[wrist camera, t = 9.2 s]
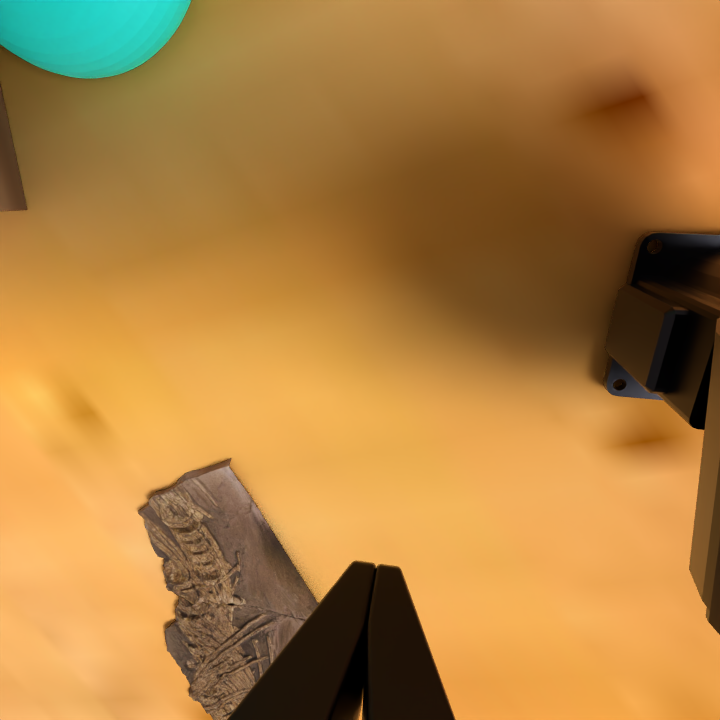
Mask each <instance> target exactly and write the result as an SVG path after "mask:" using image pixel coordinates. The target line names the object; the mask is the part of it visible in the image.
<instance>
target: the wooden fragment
mask: <svg viewBox="0 0 720 720" xmlns="http://www.w3.org/2000/svg"><path fill="white" fill-rule="evenodd" d="M230 461H231V458H230V459H228V460H226V461H224V462H221V463H218V464H215V465H212V466H209V467H206V468H203V469H199V470H193V471H190V472H187V473H185V474H184V475H183V476H182V477H181V478H179V480H178V481H177V483H176V485H174V486H172V487H170V488H168V489H165V490H161V491H156V492H155V494H154V495H153V496H152V497H151V498H150V500H149V503H148V505H147V506H146V507H144V508H142V509H141V510H140V511H138V514H139V515H140V516H142V517H143V518H144V519H145V528H146V529H147V530H148V533H149V537H150V539H151V544H152V547H153V549H154V551H155V553H156V554H157V556H158V557H162V558H164V565H163V566H164V567H165V569H164V571H163V573H164V577H165V579H166V582H167V586H166V588H167V589H168V591H172V592H174V593H175V594H177V595H179V601H178V602H179V603H178V605H177V608H176V609H175V610H176V621H175V622H173V623H172V624H171V625H170V626H169V627H168V628H166V630H165V639H166V644H167V651H168V652H170V654H171V655H172V657H173V658H174V659H175V661H176V663H177V664H178V665H179V666H180V667H181V671H182V673H183V674H184V675H186V676H187V677H186V678H187V680H188V681H189V683H190V686H191V688H190V690H189V697H191V698H192V699H193V701H198V702H200V703H201V705H202V706H203V708H204V709H205V711H206V713H207V714H208V713H210V715H211V716H212V718H213V720H226V719H227V718H228V717H229V716H230V714H231V713H232V712H233V711H234V709H235V708H236V707H237V706H238V704H239V703H240V702H241V701H242V699H243V698H244V697H245V696H246V694H247V693H248V692H249V691H250V689H251V688H252V687H253V686H254V684H255V683H256V682H257V681H258V679H259V678H260V677H261V676H262V674H263V673H264V672H265V671H266V669H267V668H268V667H269V666H270V664H271V663H272V662H273V661H274V659H275V658H276V657H277V656H278V654H279V653H280V652H281V651H282V649H283V648H284V647H285V646H286V644H287V643H288V642H289V641H290V639H291V638H292V637H293V636H294V634H295V633H296V632H297V631H298V629H299V628H300V627H301V626H302V624H303V623H304V622H305V621H306V619H307V618H308V617H309V615H310V614H311V613H312V612H313V610H314V609H315V608H316V607H317V605H318V603H317V601H316V600H315V598H314V597H313V595H312V594H311V593H310V590H309V589H308V588H307V586H306V584H305V582H304V581H303V579H302V577H301V576H300V574H299V573H298V572H297V571H296V568H295V567H294V565H293V564H292V562H291V560H290V559H289V557H288V556H287V554H286V552H285V551H284V549H283V548H282V546H281V544H280V543H279V541H278V540H277V538H276V536H275V534H274V533H273V532H272V530H271V529H270V527H269V525H268V524H267V522H266V520H265V519H264V518H263V516H262V514H261V512H260V510H259V509H258V508H257V507H256V504H255V503H254V501H253V500H252V498H251V497H250V495H249V494H248V493H247V491H246V490H245V489H244V487H243V485H242V484H241V483H240V482H239V481H238V480H237V478H236V476H235V475H234V473H233V472H232V470H231V469H230V467H229V464H230Z"/></svg>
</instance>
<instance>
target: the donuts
mask: <svg viewBox="0 0 720 720" xmlns="http://www.w3.org/2000/svg"><path fill="white" fill-rule="evenodd" d="M190 3H191V0H0V45H2V46H3V47H5V48H6V49H7V50H9V51H10V52H12V53H13V54H15V55H17V56H18V57H20V58H22V59H23V60H25V61H27V62H29V63H31V64H33V65H35V66H37V67H39V68H42V69H44V70H47V71H50V72H53V73H57V74H60V75H64V76H69V77H74V78H84V79H86V78H103V77H110V76H115V75H119V74H122V73H125V72H127V71H130V70H132V69H134V68H136V67H138V66H140V65H141V64H143V63H144V62H146V61H147V60H149V59H150V58H151V57H152V56H154V55H155V54H156V53H157V52H158V51H159V50H160V49H161V48H162V47H163V46H164V45H165V44H166V43H167V42H168V41H169V39H170V38H171V37H172V35H173V34H174V33H175V31H176V30H177V28H178V27H179V25H180V24H181V22H182V20H183V18H184V16H185V14H186V12H187V10H188V8H189V5H190Z"/></svg>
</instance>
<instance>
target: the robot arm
mask: <svg viewBox="0 0 720 720" xmlns="http://www.w3.org/2000/svg"><path fill="white" fill-rule="evenodd" d="M652 240H656V241H657V242H658V246H657V248H656V250H654V251H653V252H648V250H647V246H648V244H649V242H651V241H652ZM605 350H606V351H607V352H608V353H609V359H608V363H607V367H606V371H605V376H604V380H603V384H604V386H605V388H606V389H607V391H608V392H609V393H611V394H612V395H615V396H622V397H634V398H645V399H656V400H664V401H665V402H666V403H667V404H668V405H669V406H670V407H671V408H672V409H673V410H675V411H676V412H677V413H678V414H679V415H680V416H681V417H682V418H683V419H684V420H685V421H686V422H687V423H688V424H689V425H690V426H692V427H693V428H696V429H702V430H705V431H704V440H703V448H702V457H701V466H700V475H699V484H698V493H697V502H696V511H695V520H694V529H693V538H692V547H691V556H690V566H689V570H690V572H691V575H692V577H693V579H694V582H695V584H696V587H697V589H698V592H699V594H700V596H701V599H702V601H703V602H704V604H705V605H706V606H707V610H706V618H707V620H708V622H709V623H710V624H711V625H712V626H713V628H714V629H715V630H716V631H717V632H718V633H719V634H720V234H697V233H674V232H648V233H646V234H644V235H642V236H641V237H640V238H639V239H638V241H637V243H636V246H635V250H634V254H633V258H632V263H631V267H630V271H629V275H628V279H627V284H624V285H623V286H622V287H621V288H619V290H618V293H617V297H616V301H615V306H614V310H613V314H612V319H611V323H610V327H609V331H608V336H607V340H606V344H605ZM618 379H623V382H622V384H621V385H620V386H617V387H614V386H613V383H614V382H615V381H616V380H618ZM362 700H363V710H362V720H455V717H454V714H453V711H452V709H451V706H450V703H449V700H448V698H447V695H446V692H445V689H444V686H443V684H442V681H441V678H440V675H439V673H438V670H437V667H436V664H435V662H434V659H433V656H432V653H431V651H430V648H429V645H428V642H427V639H426V637H425V634H424V631H423V628H422V626H421V623H420V620H419V617H418V615H417V612H416V609H415V606H414V603H413V601H412V598H411V595H410V592H409V590H408V587H407V584H406V581H405V579H404V576H403V573H402V571H401V569H400V568H399V567H397V566H391V565H384V564H379V565H378V566H377V568H376V565H375V564H374V563H370V562H363V561H354V562H352V563H351V564H350V565H349V567H348V568H347V569H346V570H345V572H344V573H343V574H342V575H341V577H340V578H339V579H338V580H337V582H336V583H335V584H334V585H333V587H332V588H331V589H330V590H329V592H328V593H327V594H326V595H325V597H324V598H323V599H322V600H321V602H320V603H319V604H318V605H317V607H316V608H315V609H314V610H313V612H312V613H311V614H310V615H309V617H308V618H307V619H306V621H305V622H304V623H303V624H302V626H301V627H300V628H299V629H298V631H297V632H296V633H295V634H294V636H293V637H292V638H291V639H290V641H289V642H288V643H287V644H286V646H285V647H284V648H283V649H282V651H281V652H280V653H279V654H278V656H277V657H276V658H275V659H274V661H273V662H272V663H271V664H270V666H269V667H268V668H267V669H266V671H265V672H264V673H263V674H262V676H261V677H260V678H259V679H258V681H257V682H256V683H255V684H254V686H253V687H252V688H251V689H250V691H249V692H248V693H247V694H246V696H245V697H244V698H243V699H242V701H241V702H240V703H239V704H238V706H237V707H236V708H235V709H234V711H233V712H232V713H231V714H230V716H229V717H228V718H227V719H226V720H359V716H360V711H361V706H362Z"/></svg>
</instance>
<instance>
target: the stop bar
mask: <svg viewBox="0 0 720 720" xmlns="http://www.w3.org/2000/svg"><path fill="white" fill-rule="evenodd" d="M16 210H27V206H26V202H25V197H24V192H23V188H22V183H21V178H20V174H19V169H18V164H17V160H16V155H15V151H14V146H13V141H12V137H11V132H10V127H9V123H8V118H7V113H6V109H5V104H4V100H3V95H2V90H1V86H0V211H16Z"/></svg>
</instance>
